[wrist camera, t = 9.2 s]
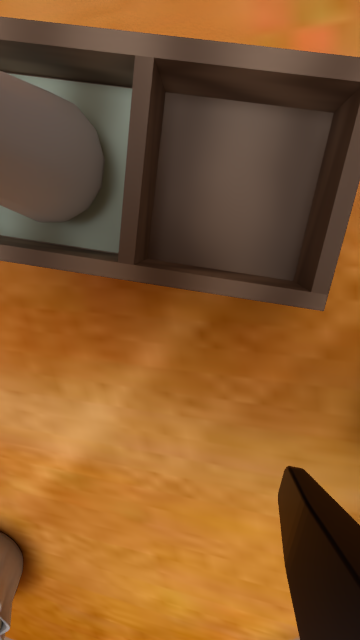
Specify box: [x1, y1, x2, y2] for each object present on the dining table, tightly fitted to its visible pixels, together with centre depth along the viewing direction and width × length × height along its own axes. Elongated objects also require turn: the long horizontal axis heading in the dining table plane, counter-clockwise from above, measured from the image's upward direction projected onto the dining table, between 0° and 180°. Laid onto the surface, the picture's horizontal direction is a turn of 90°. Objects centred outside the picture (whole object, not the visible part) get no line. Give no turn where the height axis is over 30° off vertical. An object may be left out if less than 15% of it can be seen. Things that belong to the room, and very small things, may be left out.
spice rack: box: [0, 17, 360, 311], centre depth 17 cm, size 29×10×4 cm, turn 82°
